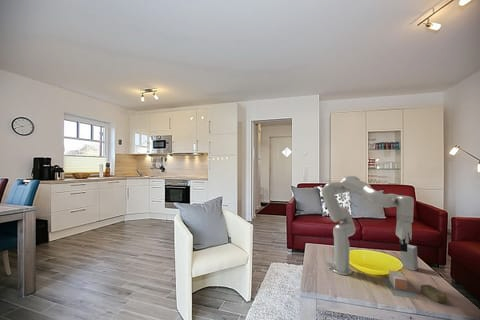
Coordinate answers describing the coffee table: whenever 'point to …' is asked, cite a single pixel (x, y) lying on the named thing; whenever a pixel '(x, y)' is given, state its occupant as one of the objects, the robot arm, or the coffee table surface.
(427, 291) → the stone block
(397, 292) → the rubber mat
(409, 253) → the skincare box
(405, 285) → the cream rectangular block
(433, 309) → the coffee table surface
